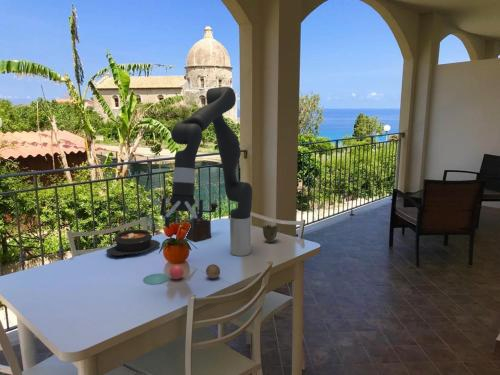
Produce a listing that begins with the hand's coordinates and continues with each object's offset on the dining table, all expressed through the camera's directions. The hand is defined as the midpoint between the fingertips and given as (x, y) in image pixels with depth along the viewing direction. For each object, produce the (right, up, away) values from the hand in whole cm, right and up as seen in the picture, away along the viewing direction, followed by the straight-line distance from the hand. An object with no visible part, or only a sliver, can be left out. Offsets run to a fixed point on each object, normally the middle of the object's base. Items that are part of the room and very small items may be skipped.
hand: (180, 228), depth 132 cm
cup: (+34, -13, +62) cm, 71 cm away
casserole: (-31, -16, +50) cm, 61 cm away
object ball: (-5, -19, +17) cm, 26 cm away
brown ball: (+9, -19, +18) cm, 27 cm away
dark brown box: (-2, -12, +70) cm, 71 cm away
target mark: (-13, -21, +18) cm, 31 cm away
